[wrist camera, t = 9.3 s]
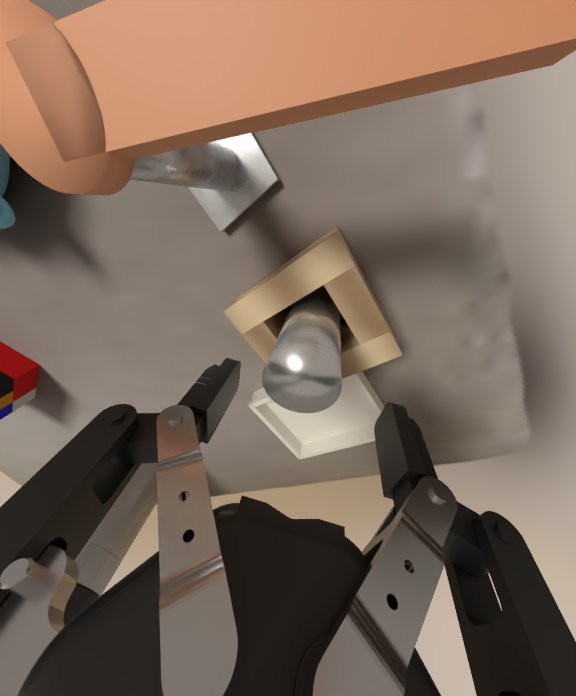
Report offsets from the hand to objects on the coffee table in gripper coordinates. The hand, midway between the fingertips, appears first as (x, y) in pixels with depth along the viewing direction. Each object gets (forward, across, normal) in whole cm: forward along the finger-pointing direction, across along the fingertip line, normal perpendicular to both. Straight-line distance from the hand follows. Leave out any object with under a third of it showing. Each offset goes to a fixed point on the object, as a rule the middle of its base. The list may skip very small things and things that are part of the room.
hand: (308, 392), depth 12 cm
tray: (+11, -3, +12) cm, 17 cm away
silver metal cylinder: (+11, +1, 0) cm, 11 cm away
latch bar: (0, +4, -11) cm, 12 cm away
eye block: (+11, +1, 0) cm, 11 cm away
